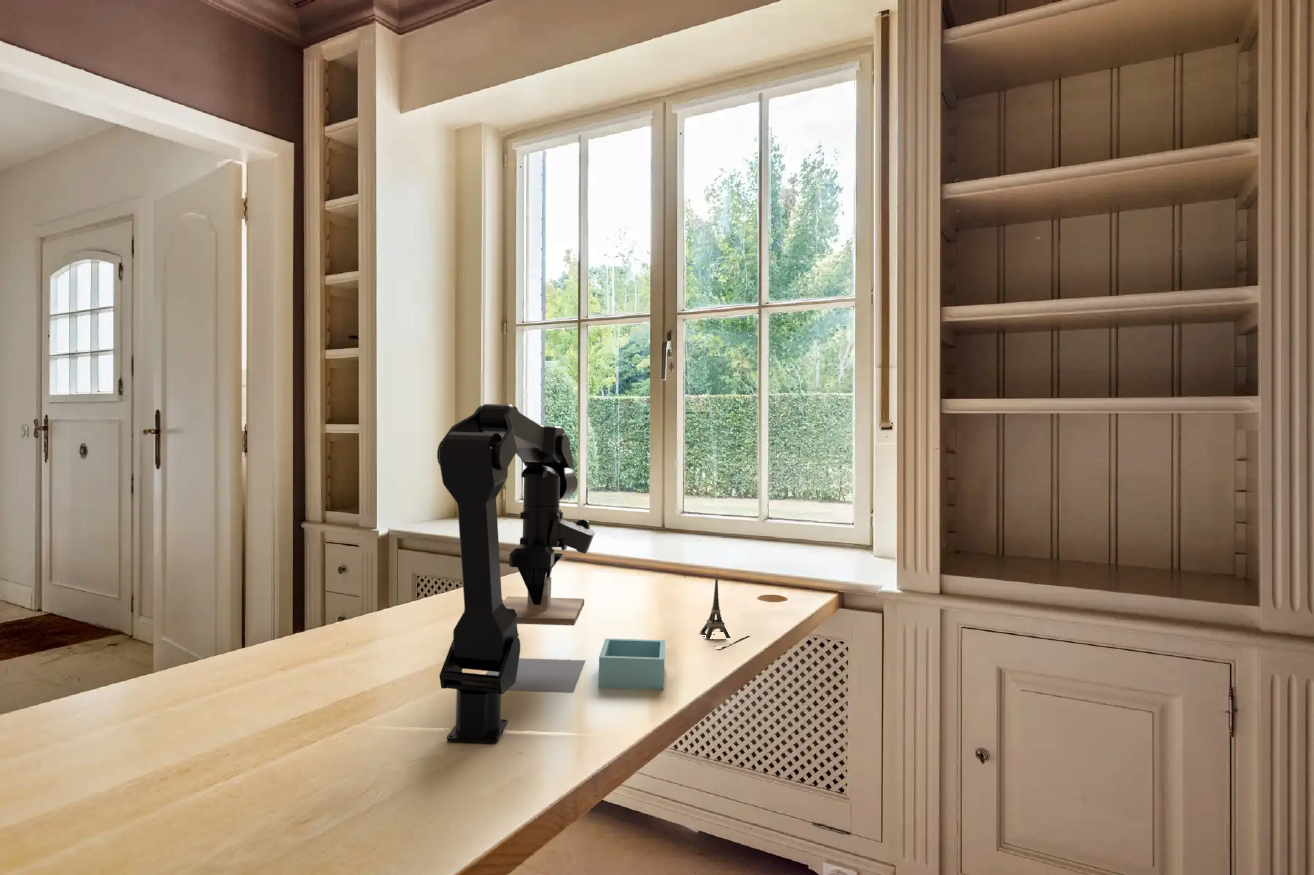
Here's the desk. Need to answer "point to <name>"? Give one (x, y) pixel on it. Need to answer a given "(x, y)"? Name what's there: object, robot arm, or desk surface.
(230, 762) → the desk surface
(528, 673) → the mat
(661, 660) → the dish
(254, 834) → the desk surface
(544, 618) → the lid
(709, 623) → the eiffel tower figurine
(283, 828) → the desk surface
